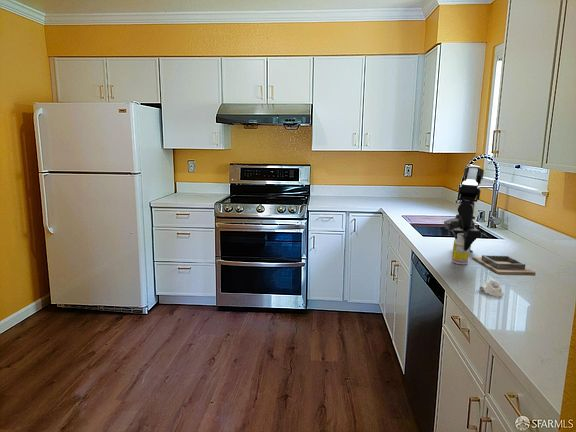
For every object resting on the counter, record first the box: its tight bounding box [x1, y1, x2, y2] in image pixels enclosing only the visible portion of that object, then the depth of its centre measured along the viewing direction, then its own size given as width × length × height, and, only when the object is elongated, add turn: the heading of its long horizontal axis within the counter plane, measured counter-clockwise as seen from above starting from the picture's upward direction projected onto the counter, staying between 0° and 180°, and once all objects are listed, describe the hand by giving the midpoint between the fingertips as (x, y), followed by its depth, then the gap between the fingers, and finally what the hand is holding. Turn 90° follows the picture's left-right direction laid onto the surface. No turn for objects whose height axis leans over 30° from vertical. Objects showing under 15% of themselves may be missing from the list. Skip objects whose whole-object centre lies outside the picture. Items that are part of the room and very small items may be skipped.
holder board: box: [472, 254, 537, 276], centre depth 171 cm, size 20×16×3 cm
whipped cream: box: [479, 279, 504, 297], centre depth 140 cm, size 8×7×5 cm
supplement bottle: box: [451, 233, 471, 266], centre depth 173 cm, size 7×7×13 cm
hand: (461, 248), depth 173 cm, fingers closed on supplement bottle, 7 cm apart
